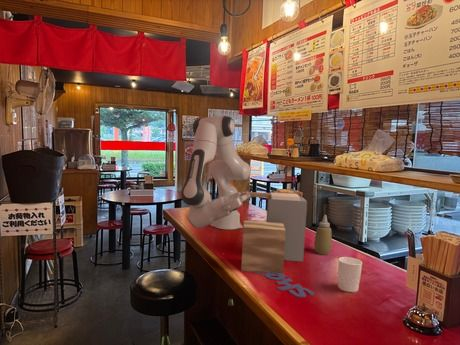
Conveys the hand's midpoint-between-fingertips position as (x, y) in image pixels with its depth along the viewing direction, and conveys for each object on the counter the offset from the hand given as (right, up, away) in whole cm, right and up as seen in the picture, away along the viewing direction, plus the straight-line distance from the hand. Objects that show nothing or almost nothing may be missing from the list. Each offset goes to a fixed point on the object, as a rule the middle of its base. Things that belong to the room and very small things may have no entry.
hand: (250, 193), depth 150 cm
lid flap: (+9, -2, -1) cm, 9 cm away
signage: (+9, -31, -27) cm, 42 cm away
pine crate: (+4, -29, -14) cm, 32 cm away
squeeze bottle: (+34, -29, +8) cm, 45 cm away
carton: (+15, -28, +1) cm, 32 cm away
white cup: (+33, -32, -31) cm, 55 cm away
